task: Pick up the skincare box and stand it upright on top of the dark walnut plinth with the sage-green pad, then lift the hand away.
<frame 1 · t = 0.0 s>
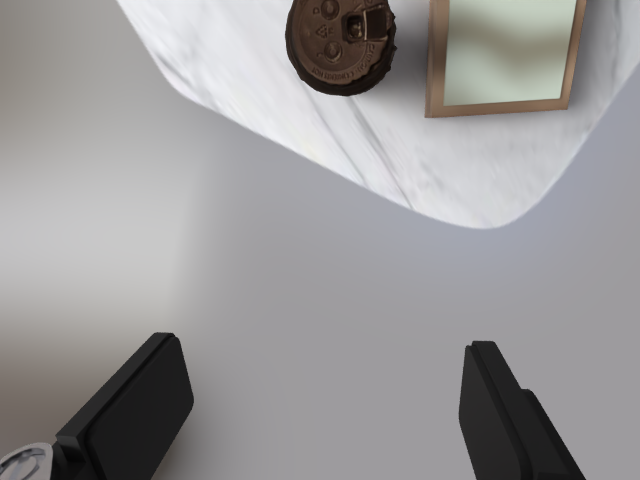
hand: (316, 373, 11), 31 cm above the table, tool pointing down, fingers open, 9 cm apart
walnut plinth: (489, 49, 33), on the table
coffee cup: (348, 59, 36), on the table
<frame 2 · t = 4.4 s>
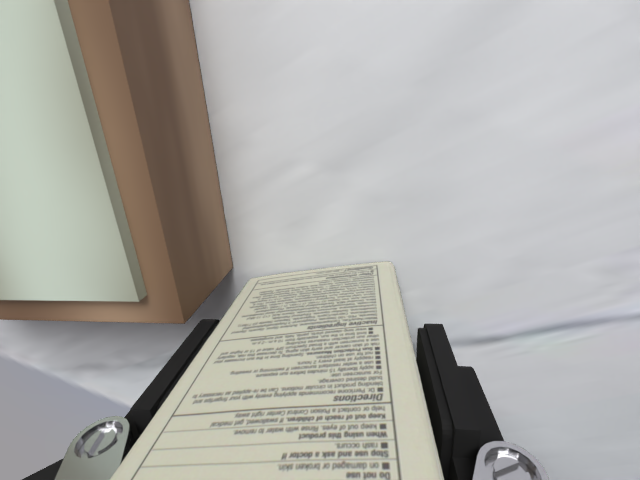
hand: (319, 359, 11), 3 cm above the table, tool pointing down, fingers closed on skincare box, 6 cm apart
skincare box: (330, 307, 15), on the table, touching gripper
walnut plinth: (61, 126, 13), on the table
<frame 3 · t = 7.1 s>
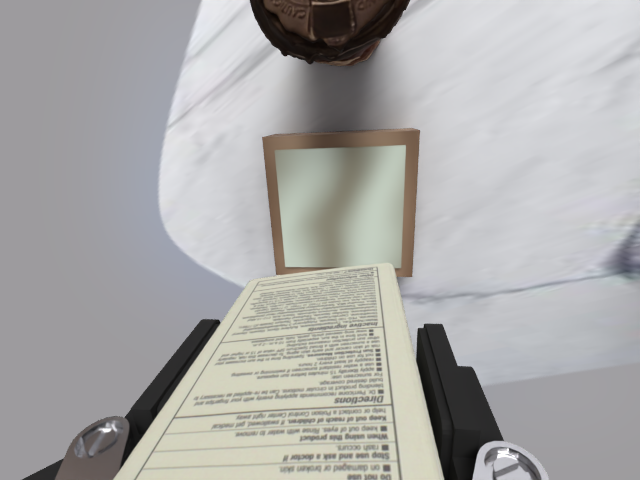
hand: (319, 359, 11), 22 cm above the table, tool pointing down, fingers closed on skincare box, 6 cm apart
skincare box: (330, 308, 15), point 18 cm above the table, touching gripper
walnut plinth: (343, 198, 32), on the table
coffee cup: (343, 26, 27), on the table
when the fingers open (8 cm above the table, at t = 10.2 s): skincare box stays where it is, resting on walnut plinth.
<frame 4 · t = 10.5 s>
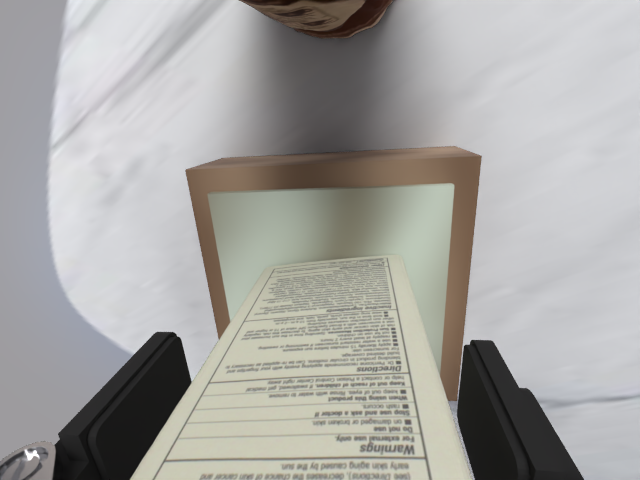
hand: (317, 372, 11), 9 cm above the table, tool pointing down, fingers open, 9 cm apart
skincare box: (340, 297, 15), point 4 cm above the table, touching walnut plinth
walnut plinth: (338, 258, 19), on the table
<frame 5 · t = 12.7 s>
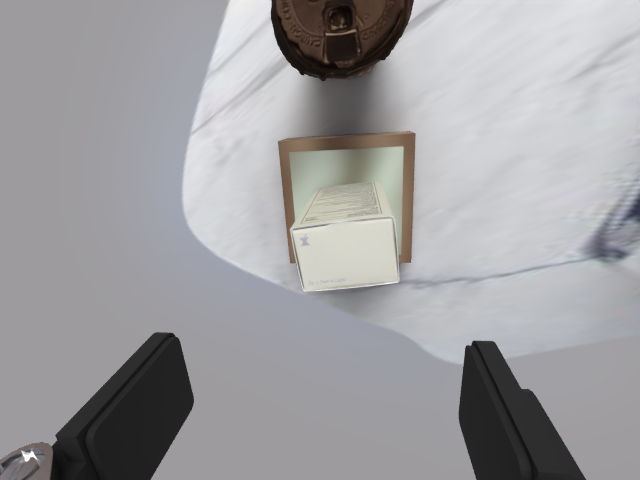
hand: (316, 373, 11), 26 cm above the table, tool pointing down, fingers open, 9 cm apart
skincare box: (351, 204, 31), point 4 cm above the table, touching walnut plinth
walnut plinth: (349, 194, 35), on the table
coffee cup: (347, 42, 31), on the table
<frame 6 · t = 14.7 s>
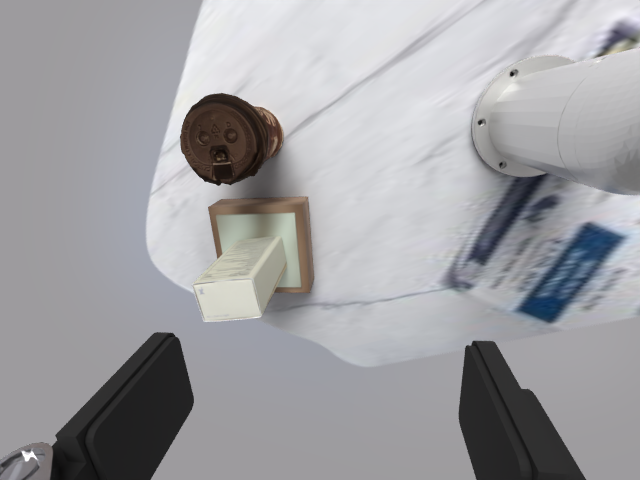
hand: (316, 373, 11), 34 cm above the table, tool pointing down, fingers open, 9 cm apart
skincare box: (263, 251, 43), point 4 cm above the table, touching walnut plinth
walnut plinth: (268, 240, 47), on the table
coffee cup: (258, 135, 43), on the table
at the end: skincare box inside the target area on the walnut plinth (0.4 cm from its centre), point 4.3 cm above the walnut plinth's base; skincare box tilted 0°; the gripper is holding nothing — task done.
